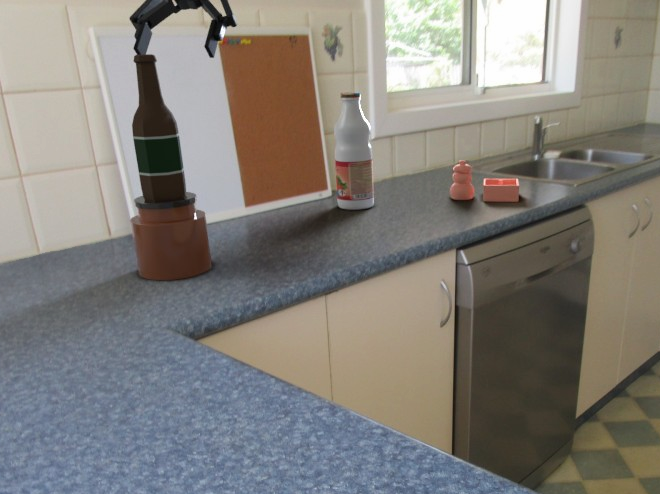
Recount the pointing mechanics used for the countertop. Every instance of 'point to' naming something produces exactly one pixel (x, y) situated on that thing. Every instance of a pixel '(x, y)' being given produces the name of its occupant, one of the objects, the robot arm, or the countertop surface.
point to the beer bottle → (156, 138)
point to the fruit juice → (353, 156)
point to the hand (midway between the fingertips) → (173, 53)
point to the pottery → (492, 187)
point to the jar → (170, 238)
